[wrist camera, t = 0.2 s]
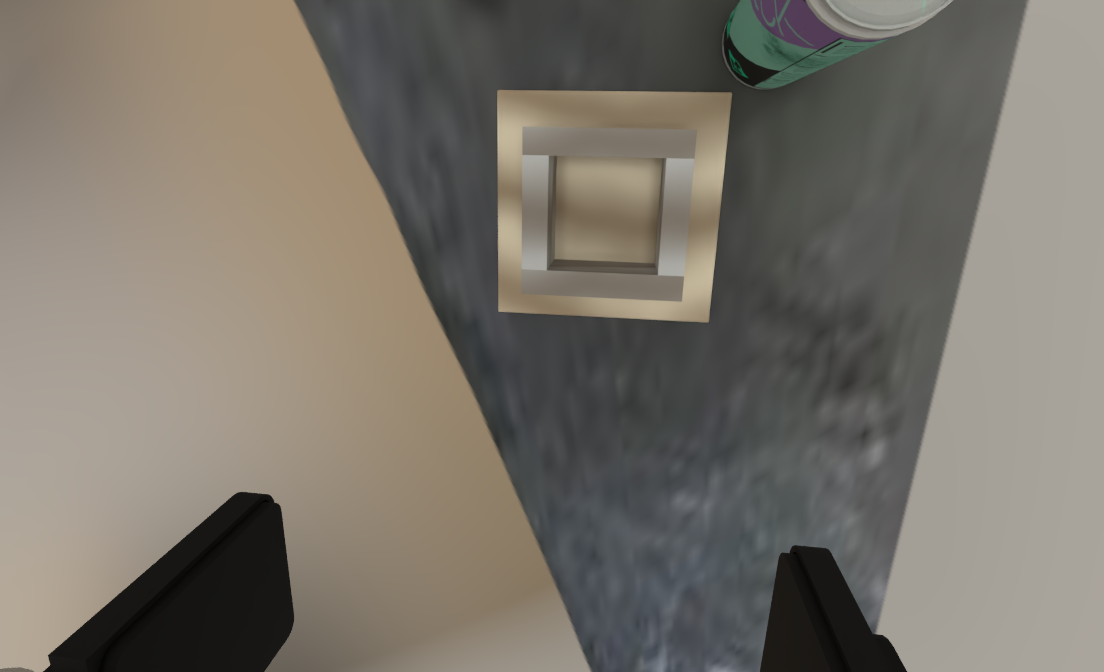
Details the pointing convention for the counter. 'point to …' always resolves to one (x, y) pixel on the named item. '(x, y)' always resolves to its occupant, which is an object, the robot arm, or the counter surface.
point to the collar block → (609, 202)
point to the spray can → (811, 34)
